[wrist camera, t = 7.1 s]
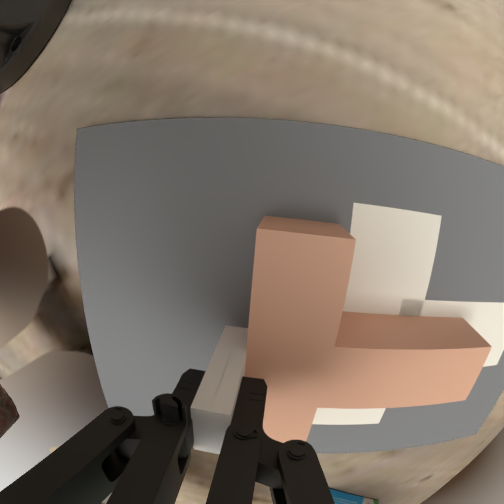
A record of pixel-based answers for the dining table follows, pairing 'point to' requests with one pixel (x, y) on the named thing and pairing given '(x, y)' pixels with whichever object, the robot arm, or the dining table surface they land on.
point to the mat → (243, 250)
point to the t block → (341, 336)
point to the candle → (6, 412)
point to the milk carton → (350, 498)
